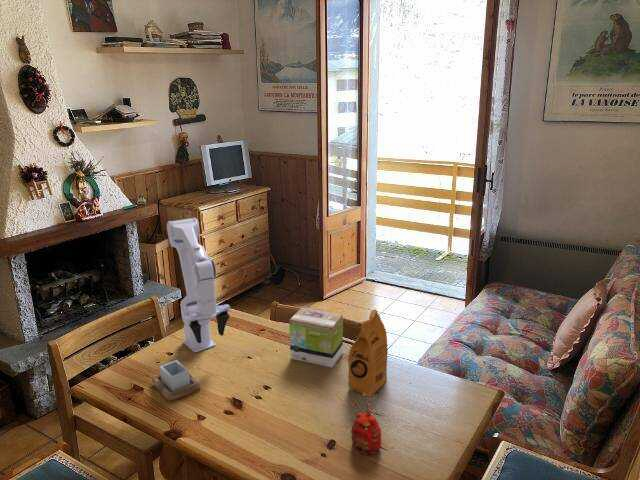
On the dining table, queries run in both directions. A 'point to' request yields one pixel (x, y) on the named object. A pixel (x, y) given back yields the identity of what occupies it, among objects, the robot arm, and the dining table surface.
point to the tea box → (316, 337)
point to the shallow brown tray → (177, 393)
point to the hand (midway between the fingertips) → (210, 338)
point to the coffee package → (368, 356)
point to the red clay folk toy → (366, 432)
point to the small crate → (174, 376)
